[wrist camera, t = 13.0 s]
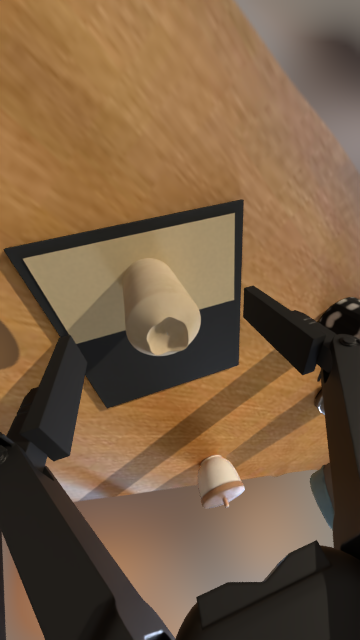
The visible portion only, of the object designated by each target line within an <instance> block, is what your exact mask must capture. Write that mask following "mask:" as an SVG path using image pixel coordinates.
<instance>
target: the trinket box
mask: <svg viewBox="0 0 360 640" xmlns="http://www.w3.org/2000/svg"><path fill="white" fill-rule="evenodd" d="M200 466H201V467H200V469H199V472H198V480H197V481H198V489H199V493H200V497H201V503H202V506H203V507H204V508H213V507H217V506H220V505H223V504H224V505H225V508H226V507H229V504H228V502H229V501H231V500H233V499H234V498H236V497H238V496H239V495H240V494H241V493H242V492H243V491H244V485H243V483H242V482H241V479H240V477H239V475H238V473H237V471H236V469H235V468H234V466H233V465H232V464H231V463H230V462H229V461H228V460H227V459H225V458H223V457H222V456H221V455H214V456H211V457H208V458H206V459H205V460H203V461H202V462H201V464H200Z"/></svg>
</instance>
